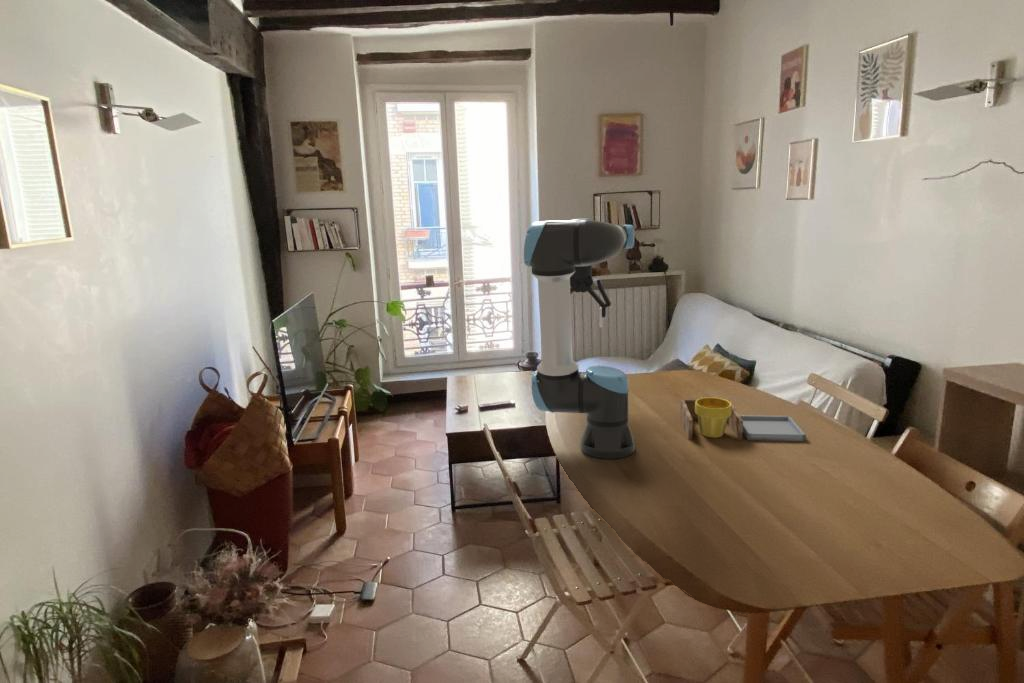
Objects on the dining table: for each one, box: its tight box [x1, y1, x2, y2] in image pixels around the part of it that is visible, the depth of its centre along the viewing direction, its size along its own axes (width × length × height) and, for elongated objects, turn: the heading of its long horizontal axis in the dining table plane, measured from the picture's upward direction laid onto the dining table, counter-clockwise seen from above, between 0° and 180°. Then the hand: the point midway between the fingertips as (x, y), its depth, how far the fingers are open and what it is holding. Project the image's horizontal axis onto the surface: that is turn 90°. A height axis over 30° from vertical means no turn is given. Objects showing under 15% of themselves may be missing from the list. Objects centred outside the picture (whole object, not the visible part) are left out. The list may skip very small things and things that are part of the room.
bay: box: [679, 398, 743, 441], centre depth 188 cm, size 19×15×6 cm
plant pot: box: [695, 396, 733, 438], centre depth 183 cm, size 10×10×10 cm
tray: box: [739, 414, 806, 442], centre depth 185 cm, size 16×16×2 cm
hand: (581, 326), depth 215 cm, fingers open, 13 cm apart
